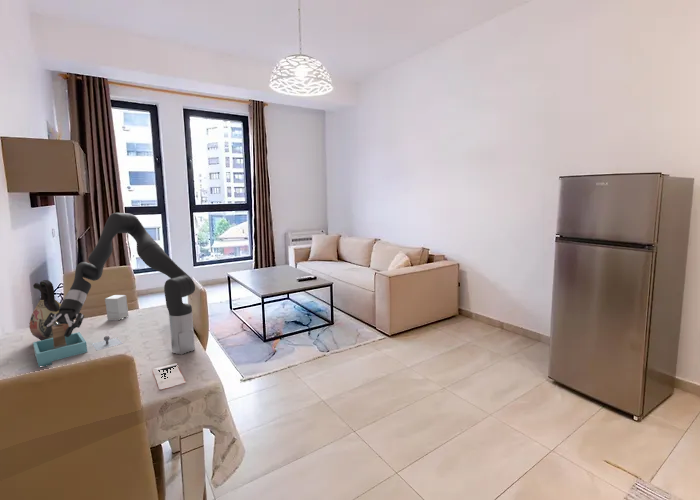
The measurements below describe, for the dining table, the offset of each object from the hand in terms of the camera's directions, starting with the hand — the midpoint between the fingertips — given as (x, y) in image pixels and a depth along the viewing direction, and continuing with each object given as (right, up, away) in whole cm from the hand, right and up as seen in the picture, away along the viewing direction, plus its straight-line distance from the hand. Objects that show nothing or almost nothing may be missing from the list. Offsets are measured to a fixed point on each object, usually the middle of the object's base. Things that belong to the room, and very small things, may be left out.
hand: (56, 336), depth 149 cm
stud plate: (+14, -7, +11) cm, 19 cm away
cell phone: (+55, -12, -15) cm, 59 cm away
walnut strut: (0, -8, +3) cm, 8 cm away
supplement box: (-5, -2, +48) cm, 48 cm away
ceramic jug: (-16, -7, +19) cm, 26 cm away
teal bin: (0, -9, +3) cm, 9 cm away
